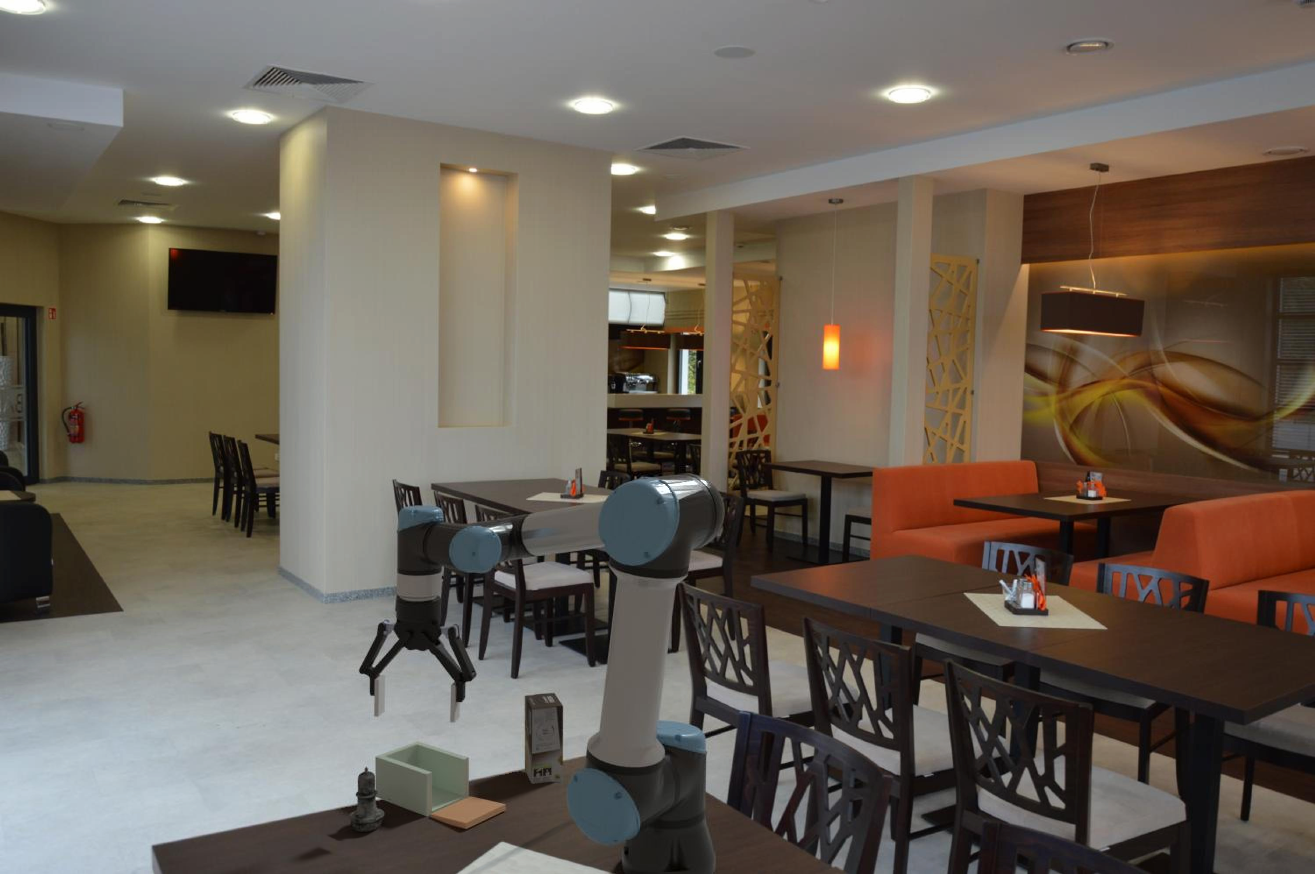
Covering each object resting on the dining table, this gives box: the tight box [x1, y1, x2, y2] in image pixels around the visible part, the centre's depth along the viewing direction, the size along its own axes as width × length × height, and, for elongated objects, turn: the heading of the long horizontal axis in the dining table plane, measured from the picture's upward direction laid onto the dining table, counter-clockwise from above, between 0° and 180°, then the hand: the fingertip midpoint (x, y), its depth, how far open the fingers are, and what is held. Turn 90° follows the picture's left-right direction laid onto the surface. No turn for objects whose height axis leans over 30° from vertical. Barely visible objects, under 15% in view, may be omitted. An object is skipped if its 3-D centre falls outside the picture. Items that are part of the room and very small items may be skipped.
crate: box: [374, 741, 470, 817], centre depth 183 cm, size 14×10×9 cm
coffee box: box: [524, 692, 564, 785], centre depth 195 cm, size 9×6×16 cm
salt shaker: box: [348, 766, 385, 833], centre depth 170 cm, size 6×6×12 cm
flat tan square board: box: [429, 795, 507, 830], centre depth 176 cm, size 1×10×9 cm
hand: (416, 717), depth 172 cm, fingers open, 13 cm apart
